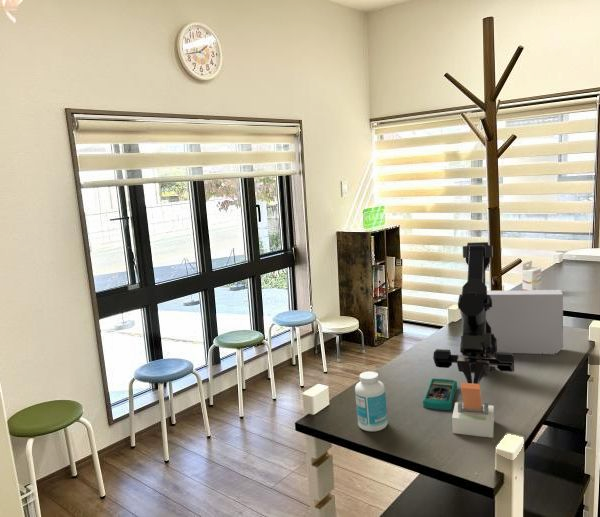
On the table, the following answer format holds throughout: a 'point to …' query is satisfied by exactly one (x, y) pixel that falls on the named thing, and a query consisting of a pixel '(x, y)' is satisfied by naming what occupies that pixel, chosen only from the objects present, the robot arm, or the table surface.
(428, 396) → the digital multimeter
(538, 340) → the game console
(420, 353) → the table surface
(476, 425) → the switch base
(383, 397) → the pill bottle
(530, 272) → the ink cartridge box
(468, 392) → the lever
